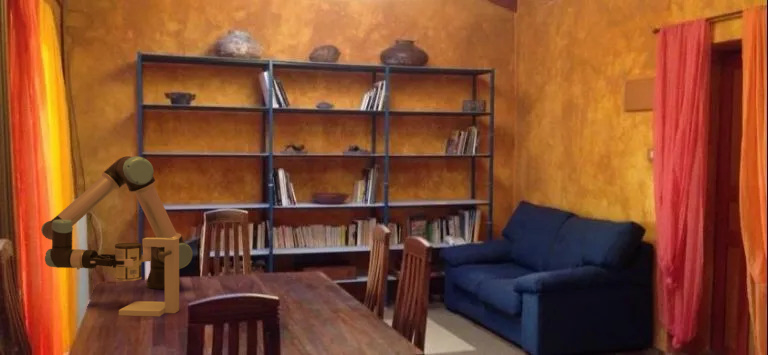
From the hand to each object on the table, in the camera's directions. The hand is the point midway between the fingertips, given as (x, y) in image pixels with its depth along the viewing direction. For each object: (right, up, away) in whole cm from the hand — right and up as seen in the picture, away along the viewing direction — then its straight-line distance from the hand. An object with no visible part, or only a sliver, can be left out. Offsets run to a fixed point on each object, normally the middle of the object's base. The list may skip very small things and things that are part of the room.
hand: (138, 260), depth 282 cm
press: (+7, -19, -7) cm, 22 cm away
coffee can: (-4, -8, +1) cm, 9 cm away
